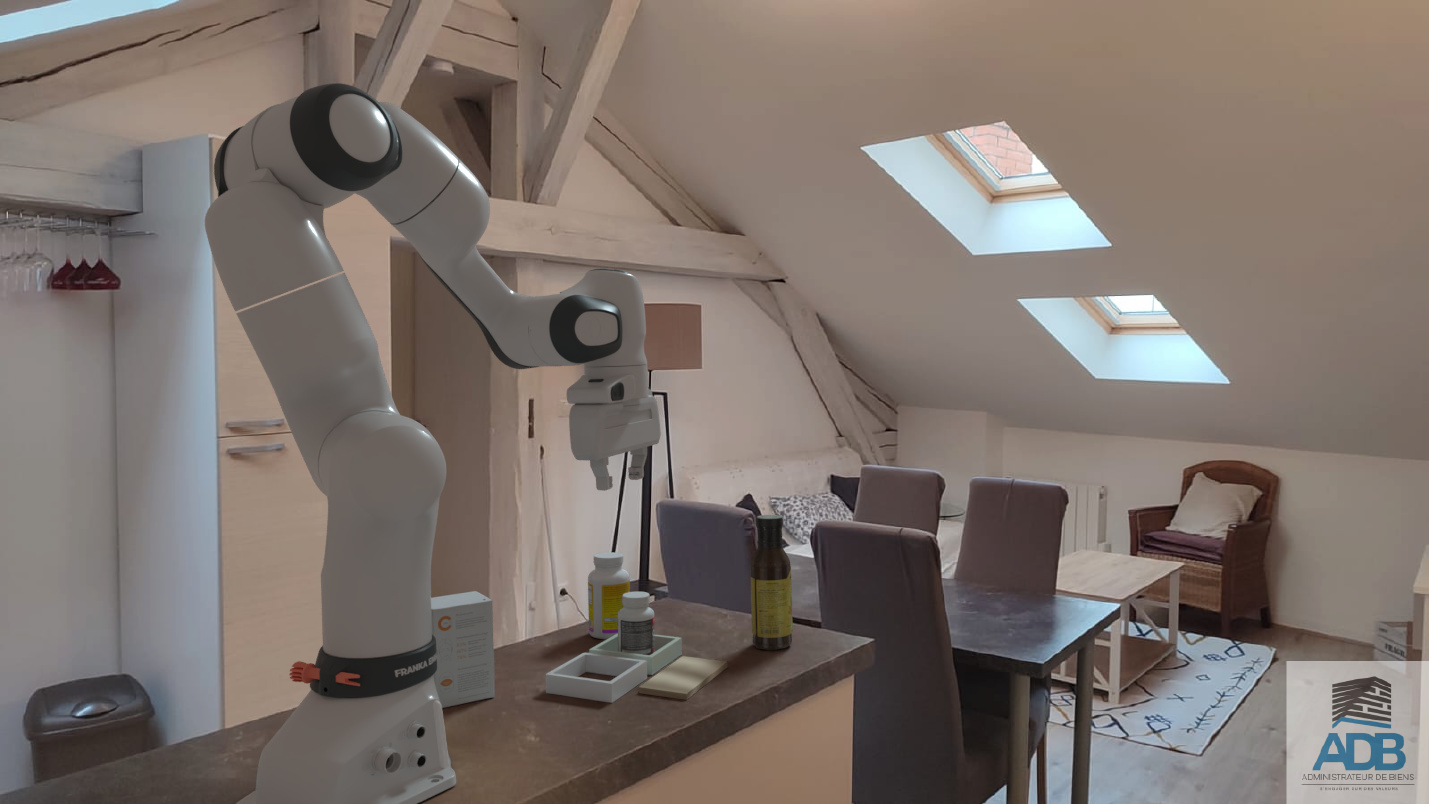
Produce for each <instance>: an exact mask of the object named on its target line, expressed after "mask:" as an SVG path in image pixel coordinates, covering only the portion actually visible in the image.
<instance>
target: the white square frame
mask: <svg viewBox="0 0 1429 804" xmlns="http://www.w3.org/2000/svg"><path fill="white" fill-rule="evenodd" d="M585 673H592V674H597V675H598V674H599V675H606V676H613V679H611V680H602V679H595V678H590V677H589V678H588V677H582V676H581V675H584V674H585ZM614 676H615V677H614ZM647 680H648V674H647V661H646V660H638V659H630V658H623V657H615V656H607V655H600V654H592V653H589V652H582V653H581V654H579V655H577V656H575V657H574V658H572V659H570V660H568V661H566V662H564V663H563V664H561V665H559V666H557V667H556V668H554V669H552V670H551V671H548V672H547V673H545V694H551V695H557V696H564V697H570V698H577V699H585V700H590V701H599V702H603V703H611V704H612V703H614V702H616V701H617V700H618V699H620V698H622V697H623V696H625V694H627V693H628V692H630V691H632V690H633V689H634V688H635V687H637V686H640V685H641V684H642V683H643V682H644V681H647Z"/></svg>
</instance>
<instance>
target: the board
mask: <svg viewBox="0 0 1429 804" xmlns="http://www.w3.org/2000/svg"><path fill="white" fill-rule="evenodd" d="M727 668H728V661H726V660H725V661H724V660H717V659H709V658H703V657H702V658H701V657H692V656H685V655H683V656H682V655H681V657H678V658H677V660H676V659H675V661H672V662H671V663H670V664H668V665H667V666H665V667H664V668H662V670H660V671H658V673H655V675H654V676H653V675H652V677H651V678H650V679H647V680H645V682H644V683H643V682H642V683H641V684H640V685H638V694H643V695H644V694H645V695H650V696H658V697H664V698H665V697H666V698H672V699H678V700H685V701H688V699H690V698H691V697H692V696H694V695H695V694H696V693H697V692H698V691H700V690H701V689H702V688H703V687H705V686H706V685H708V683H710V682H711V681H712V680H713V679H714V678H716V677H717V676H718V675H719V674H721V673H722V672H724V670H726V669H727Z"/></svg>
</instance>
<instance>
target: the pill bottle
mask: <svg viewBox="0 0 1429 804" xmlns="http://www.w3.org/2000/svg"><path fill="white" fill-rule="evenodd" d="M650 598H651V597H650V593H649V592H645V591H630V592H628V593H625V594H623V596H622V605H623V606H624V608H622V609H621V610H620V611H619V612H618V651H619V652H627V653H635V654H642V655H651V654H653V653H654V652H655V635H656V633H655V632H656V631H655V628H656V627H655V624H656V623H655V622H656V621H655V619H656V618H655V612H654V610H653V608H651V607H649V605H650V602H651V599H650Z"/></svg>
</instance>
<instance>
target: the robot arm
mask: <svg viewBox="0 0 1429 804" xmlns="http://www.w3.org/2000/svg"><path fill="white" fill-rule="evenodd" d="M216 152H217V153H216V155H215V157H214V158H215V159H214V162H213V163H214V164H213V171H214V172H213V174H214V181H215V186H216V190H217V198H216V199H215V200H214V201H213V202H211V204H210V206H209V208H207V211H206V213H205V217H204V229H205V232H206V237H207V241H208V245H209V248H210V251H211V254H212V259H213V261H214V264H215V267H216V269H217V273H218V275H219V278H220V281H221V283H222V286H223V288H224V290H225V293H226V295H227V298H228V300H229V301H230V303H231V305H232V307H233V310H234V312H236V313H235V314H236V316H237V318H238V319H239V322H240V324H241V326H242V328H243V330H244V332H245V334H246V336H247V338H248V340H249V342H250V344H251V346H252V347H253V350H254V352H255V354H256V356H257V358H258V360H259V362H260V364H261V366H262V368H263V370H264V372H265V374H266V376H267V378H268V380H269V382H270V385H271V386H272V389H273V391H274V393H275V396H276V398H277V401H278V403H279V406H280V409H281V410H282V413H283V415H284V418H285V421H286V423H287V424H288V427H289V429H290V431H291V434H292V436H293V438H294V441H295V443H296V445H297V447H298V450H299V452H300V454H301V457H302V459H303V462H304V463H305V465H306V467H307V469H308V472H309V475H310V476H311V478H312V480H313V482H314V484H315V486H316V487H317V488H318V489H319V491H320V492H321V493H322V494H323V495H324V496H326V497H327V520H326V521H327V523H326V534H325V535H326V538H325V547H324V555H323V556H324V558H323V563H322V564H323V565H322V569H321V572H320V590H321V592H320V595H321V624H322V625H321V627H322V633H321V634H322V646H320V647H319V650H318V653H317V657H316V660H315V663H307V662H304V661H300V660H299V661H296V662H294V663H293V664H292V665H291V668H290V669H289V676H290V677H289V679H290V680H291V681H292V682H295V683H302V682H303V683H304V684H309V688H310V690H309V692H308V693H307V695H305V697H303V699H302V701H301V702H300V703H299V705H298V706H297V707H296V708H295V709H294V711H293V712H292V713H291V715H290V716H289V717H288V718H287V719H286V720H285V722H284V723H283V725H282V726H281V727H280V728H279V729H278V731H276V733H275V734H274V735H273V737H271V738H270V740H269V741H268V742H267V743H266V745H265V746H264V747H263V749H262V751H261V753H260V757H259V761H258V765H257V771H256V772H257V773H256V781H255V782H256V784H255V790H253V791H252V792H250V793H249V794H247V795H246V796H244V797H243V798H242V799H240V800H238V801H237V802H236V803H235V804H418V803H421V802H423V801H425V800H427V799H429V798H431V797H434V796H436V795H438V794H441V793H442V792H444V791H446V790H449V789H450V788H453V787H454V786H455V785H456V784H457V776H456V775H457V774H456V771H455V770H454V769H453V768H452V766H451V764H452V760H451V757H450V755H449V752H448V744H447V736H446V735H447V734H446V727H445V722H444V713H443V708H442V705H441V702H440V699H439V696H438V693H437V690H436V686H435V681H434V673H435V672H436V671H437V658H438V650H437V649H436V638H435V637H434V636H433V635H432V616H431V598H432V580H431V579H432V559H433V550H434V542H435V537H436V531H437V523H438V517H439V507H440V497H441V494H442V492H443V490H444V488H445V484H446V481H447V480H446V479H447V469H448V468H447V463H446V462H447V461H446V458H445V454H444V453H443V450H442V448H441V446H440V444H439V443H438V441H437V440H436V438H435V437H434V435H432V433H431V431H430V430H429V429H428V428H427V427H425V426H424V425H423V424H421V422H419V421H416V420H415V419H413V418H411V417H407V416H405V415H401V414H400V411H399V410H398V408H397V406H396V404H395V401H394V398H393V396H392V393H391V389H390V386H389V383H388V381H387V377H386V374H385V370H384V367H383V363H382V360H381V356H380V353H379V352H380V351H379V346H378V341H377V338H376V337H375V335H374V332H373V330H372V328H371V326H370V324H369V321H368V320H367V318H366V315H365V313H364V311H363V309H362V307H361V305H360V303H359V300H358V298H357V296H356V294H355V292H354V289H353V287H352V285H351V284H350V283H351V282H350V280H349V279H348V277H347V275H346V273H345V272H344V271H345V270H344V268H343V266H342V264H341V262H340V260H339V258H338V256H337V254H336V252H335V250H334V249H333V247H332V245H331V244H330V241H329V240H328V238H327V235H326V231H325V226H324V210H325V209H328V208H331V207H333V206H336V205H337V204H339V203H341V202H343V201H345V200H347V199H349V198H350V197H352V196H353V195H354V194H355V195H357V196H360V197H362V198H364V199H365V200H367V202H368V203H369V204H370V205H371V206H372V207H373V208H374V209H375V210H376V211H377V212H378V214H380V215H381V216H382V217H383V218H384V219H385V220H386V221H387V222H388V223H389V224H390V225H391V226H392V227H393V228H395V229H396V230H397V231H398V232H399V234H401V236H403V237H404V238H405V239H406V240H407V242H409V243H410V244H411V246H412V247H413V248H414V249H415V250H416V252H417V253H418V255H419V257H420V259H421V260H422V262H423V263H424V264H425V266H426V267H427V268H428V270H429V271H430V272H431V273H432V275H433V276H434V277H435V278H436V279H437V280H438V281H439V282H440V284H441V285H442V286H443V287H444V288H445V289H446V290H447V291H448V292H449V294H451V295H452V297H453V298H454V299H455V300H456V301H457V302H458V303H459V304H460V305H461V306H462V308H463V309H464V310H465V311H466V312H467V313H468V314H469V315H470V317H471V318H472V319H473V320H474V321H475V322H476V324H477V325H478V327H479V328H480V330H481V332H482V333H483V335H484V338H485V340H486V342H487V344H488V346H489V348H490V350H491V351H492V353H493V354H494V356H495V357H496V358H497V359H498V360H499V361H500V362H501V363H503V364H504V365H505V366H507V367H509V368H512V369H515V370H527V369H534V368H540V367H567V366H569V367H571V366H572V367H574V366H575V367H576V366H579V365H583V366H584V375H582V376H581V377H580V378H578V380H577V381H575V382H574V383H573V384H572V385H570V386H569V387H568V388H567V390H566V401H567V403H568V404H571V405H572V406H571V407H570V410H569V414H568V415H569V416H568V420H569V421H568V424H569V425H568V428H569V440H570V442H569V443H570V449H571V452H572V455H573V456H574V458H575V460H576V461H589V467H590V469H591V471H592V473H593V475H594V478H595V486H596V487H595V488H596V490H598V491H607V490H608V491H609V490H611V489H612V488H613V487H614V485H613V476H612V475H611V476H610V473H609V469H608V466H609V458H610V457H613V456H617V455H621V454H625V453H630V455H631V462H630V466H629V467H628V468H627V469H628V479H630V480H632V481H634V480H635V481H639V480H642V479H643V478H644V476H645V471H644V469H645V468H644V467H645V463H646V461H647V458H648V457H647V456H648V447H650V446H656V445H658V444H659V442H660V440H661V435H662V434H661V433H662V432H661V423H660V422H661V421H660V420H661V419H660V412H659V406H658V402H657V399H656V397H655V396H654V395H653V391H652V389H651V388H650V387H649V371H648V359H647V357H646V353H645V340H646V336H647V323H646V319H647V318H646V309H645V308H646V307H645V300H644V295H643V290H642V287H641V284H640V281H639V279H638V278H637V277H636V276H635V275H633V274H632V273H630V272H628V271H624V270H621V269H620V270H619V269H609V268H595V269H591V270H588V271H587V272H585V275H584V276H583V278H581V280H579V281H578V282H576V283H575V284H574V285H571V287H568V288H567V289H564V290H562V291H560V292H559V293H554V294H549V295H547V294H546V295H537V296H534V295H533V296H531V295H526V294H522V293H518V292H515V290H512V289H511V288H509V287H508V286H507V285H506V283H505V282H504V281H503V279H501V277H499V275H498V274H497V273H496V271H495V270H494V269H493V268H492V267H491V265H490V264H489V263H488V262H487V261H486V260H485V259H484V257H483V256H482V255H481V254H480V252H479V250H478V248H477V244H478V243H479V241H480V240H481V238H482V237H483V235H484V234H485V233H486V230H487V228H488V225H489V222H490V214H491V203H490V197H489V196H488V193H487V192H486V190H485V188H484V186H483V185H482V183H481V182H480V181H479V179H478V177H477V176H476V175H475V174H474V173H473V172H472V170H470V168H469V167H468V166H467V165H466V164H465V163H464V162H463V161H462V160H461V159H460V158H459V157H458V156H457V155H456V154H455V153H454V152H453V151H452V149H450V148H449V147H448V146H447V145H446V144H445V143H444V142H443V141H442V140H441V139H439V138H438V136H437V135H435V133H433V132H432V131H431V130H429V129H428V128H427V127H426V126H425V125H423V124H422V123H421V122H420V121H418V120H417V119H416V118H414V117H413V116H412V115H411V114H408V113H407V112H406V111H404V110H403V109H402V108H401V107H399V106H397V105H395V104H393V103H389V102H386V101H378V100H377V99H376V98H374V97H373V96H372V95H370V94H369V93H367V92H365V91H364V90H362V89H360V88H358V87H356V86H353V85H350V84H346V83H340V82H339V83H337V82H336V83H327V84H321V85H317V86H314V87H311V88H308V89H306V90H304V91H303V92H302V93H301V94H299V95H298V96H294V97H293V98H290V99H288V100H285V101H283V102H281V103H277V104H274V105H271V106H269V107H267V108H266V109H264V110H263V111H261V112H260V113H257V115H255V116H254V117H252V118H251V119H250V120H249V121H248V122H246V123H244V125H242V126H240V127H238V128H236V129H234V130H233V131H232V132H230V133H229V135H228V136H227V137H226V138H225V139H224V140H223V142H222V143H221V145H220V147H219V148H218V150H217V151H216ZM341 272H342V273H341ZM338 273H339V274H338ZM336 274H337V275H336ZM334 275H335V276H334ZM331 276H332V277H331ZM327 277H329V278H327ZM326 278H327V279H326ZM323 279H324V280H323ZM317 281H318V282H317ZM315 282H316V283H315ZM306 285H308V286H306ZM302 287H303V288H302ZM296 289H298V290H296ZM294 290H295V291H294ZM291 291H292V292H291ZM280 295H281V296H280ZM278 296H279V297H278ZM275 297H276V298H275ZM272 298H273V299H272ZM269 299H271V300H269ZM267 300H268V301H267ZM265 301H266V302H265ZM262 302H263V303H262ZM256 304H258V305H256ZM251 306H252V307H251ZM249 307H250V308H249ZM246 308H247V309H246ZM240 310H242V311H240ZM237 311H238V312H237Z"/></svg>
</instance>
